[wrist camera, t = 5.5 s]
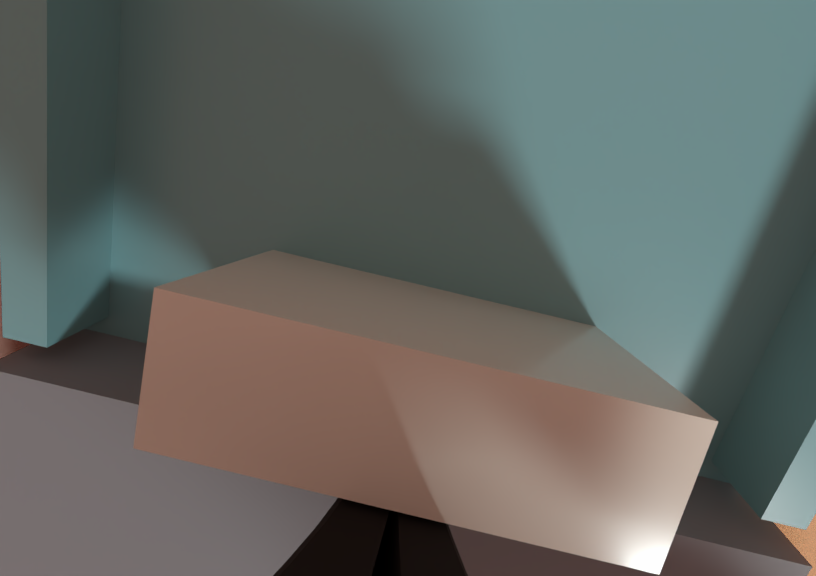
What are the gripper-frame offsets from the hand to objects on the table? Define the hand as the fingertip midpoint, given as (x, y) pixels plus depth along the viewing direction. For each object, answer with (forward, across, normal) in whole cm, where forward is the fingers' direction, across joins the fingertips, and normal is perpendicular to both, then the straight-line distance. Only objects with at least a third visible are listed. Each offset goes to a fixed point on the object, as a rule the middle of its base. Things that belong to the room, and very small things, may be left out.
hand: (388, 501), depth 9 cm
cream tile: (+1, 0, -1) cm, 1 cm away
